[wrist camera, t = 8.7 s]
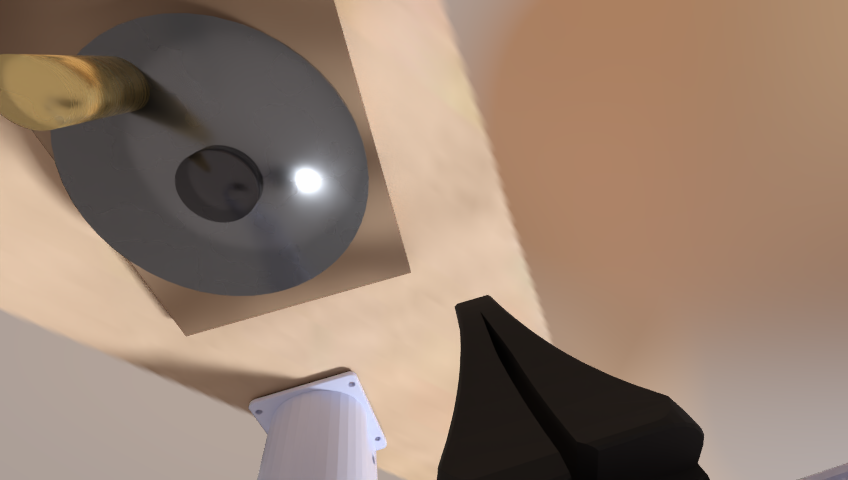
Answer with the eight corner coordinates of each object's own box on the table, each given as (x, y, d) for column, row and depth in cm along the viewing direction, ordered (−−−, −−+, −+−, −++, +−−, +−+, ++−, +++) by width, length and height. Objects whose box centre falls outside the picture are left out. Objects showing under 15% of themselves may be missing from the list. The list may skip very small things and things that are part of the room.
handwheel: (417, 192, 19) (438, 236, 14) (244, 323, 21) (211, 401, 16) (214, -65, 13) (132, -139, 8) (-4, 150, 15) (-175, 193, 10)
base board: (408, 262, 23) (410, 272, 22) (194, 323, 22) (185, 336, 21) (313, -72, 15) (310, -82, 14) (-32, 7, 14) (-64, 2, 13)
